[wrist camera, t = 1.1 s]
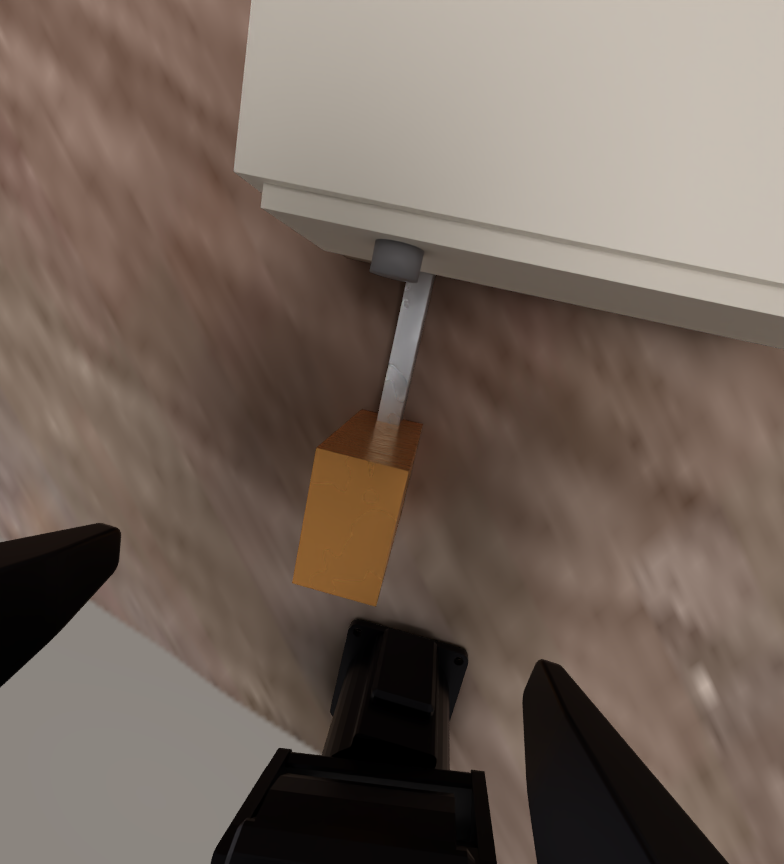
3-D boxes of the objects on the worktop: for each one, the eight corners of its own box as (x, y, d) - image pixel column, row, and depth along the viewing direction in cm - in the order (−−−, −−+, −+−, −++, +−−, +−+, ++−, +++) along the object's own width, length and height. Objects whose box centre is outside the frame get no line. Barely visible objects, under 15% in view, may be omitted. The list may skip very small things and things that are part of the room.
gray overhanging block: (730, 371, 17) (1091, 419, 8) (341, 286, 18) (227, 232, 9) (850, 91, 15) (1625, -375, 5) (389, 13, 16) (302, -481, 6)
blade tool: (399, 518, 21) (376, 606, 14) (342, 503, 21) (292, 582, 14) (513, 51, 16) (562, -164, 9) (437, 38, 16) (428, -181, 9)
